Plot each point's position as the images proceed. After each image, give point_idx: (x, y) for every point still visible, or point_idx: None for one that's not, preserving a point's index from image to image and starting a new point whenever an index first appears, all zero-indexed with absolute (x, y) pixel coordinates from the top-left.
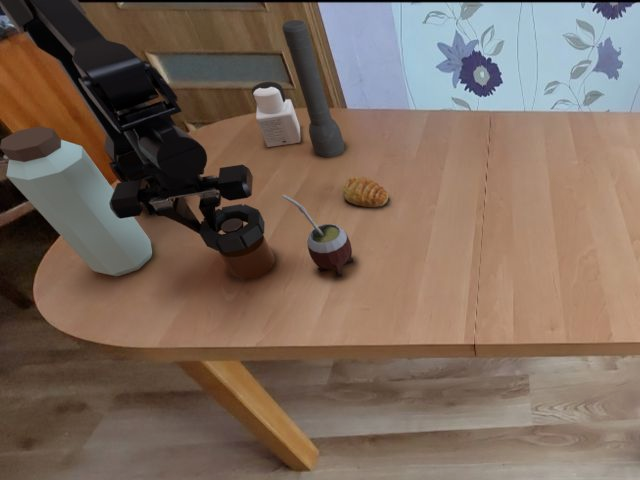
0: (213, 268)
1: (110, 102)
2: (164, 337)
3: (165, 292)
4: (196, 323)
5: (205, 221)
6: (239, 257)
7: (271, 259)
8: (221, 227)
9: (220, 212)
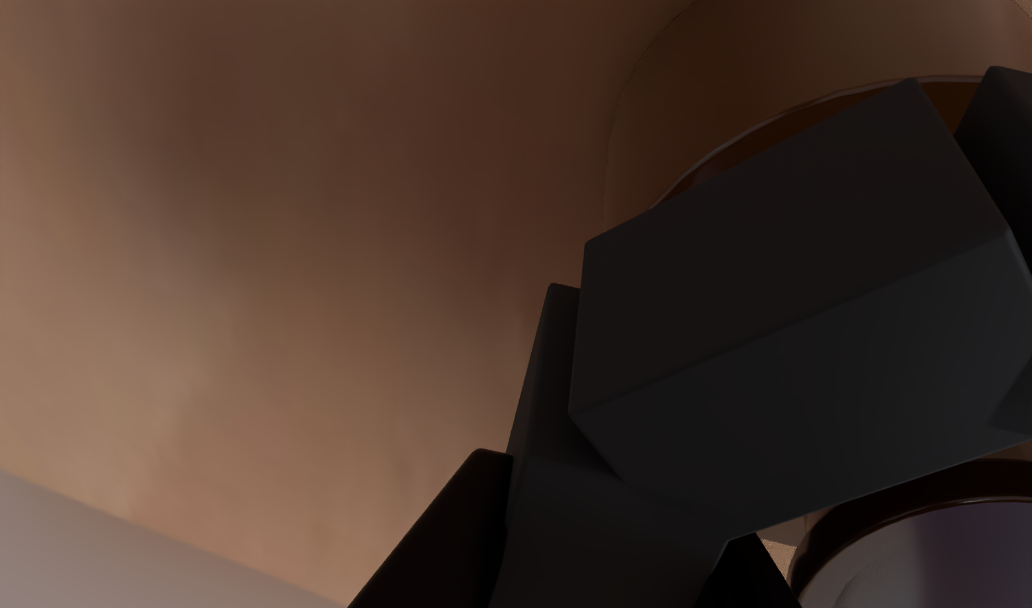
0: (458, 28)
1: None
2: (149, 503)
3: (57, 133)
4: (324, 501)
5: (603, 501)
6: (777, 539)
7: None
8: (805, 598)
9: (977, 401)
